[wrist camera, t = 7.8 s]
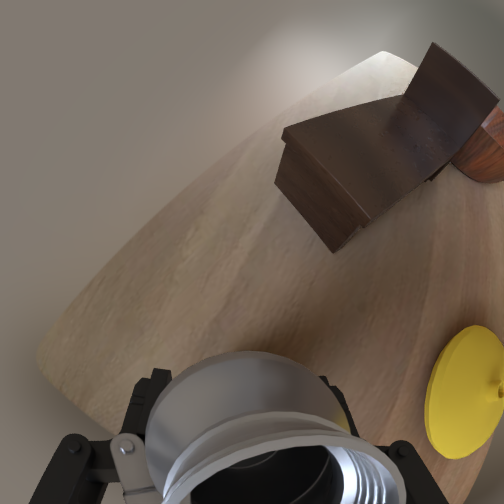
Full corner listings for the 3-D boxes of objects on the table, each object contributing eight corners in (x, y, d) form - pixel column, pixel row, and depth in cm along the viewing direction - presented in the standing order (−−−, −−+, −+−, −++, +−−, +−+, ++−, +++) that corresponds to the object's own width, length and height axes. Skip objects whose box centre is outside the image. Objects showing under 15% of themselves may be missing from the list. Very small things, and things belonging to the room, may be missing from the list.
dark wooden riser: (334, 259, 27) (446, 129, 11) (269, 180, 30) (310, 28, 14) (433, 179, 35) (500, 99, 18) (386, 129, 38) (435, 42, 21)
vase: (386, 435, 20) (431, 446, 14) (441, 306, 26) (483, 288, 20) (461, 466, 18) (499, 472, 12) (501, 360, 24) (537, 350, 18)
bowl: (503, 227, 34) (543, 195, 24) (402, 144, 37) (436, 92, 26) (492, 153, 44) (517, 124, 33) (412, 90, 47) (432, 54, 36)
